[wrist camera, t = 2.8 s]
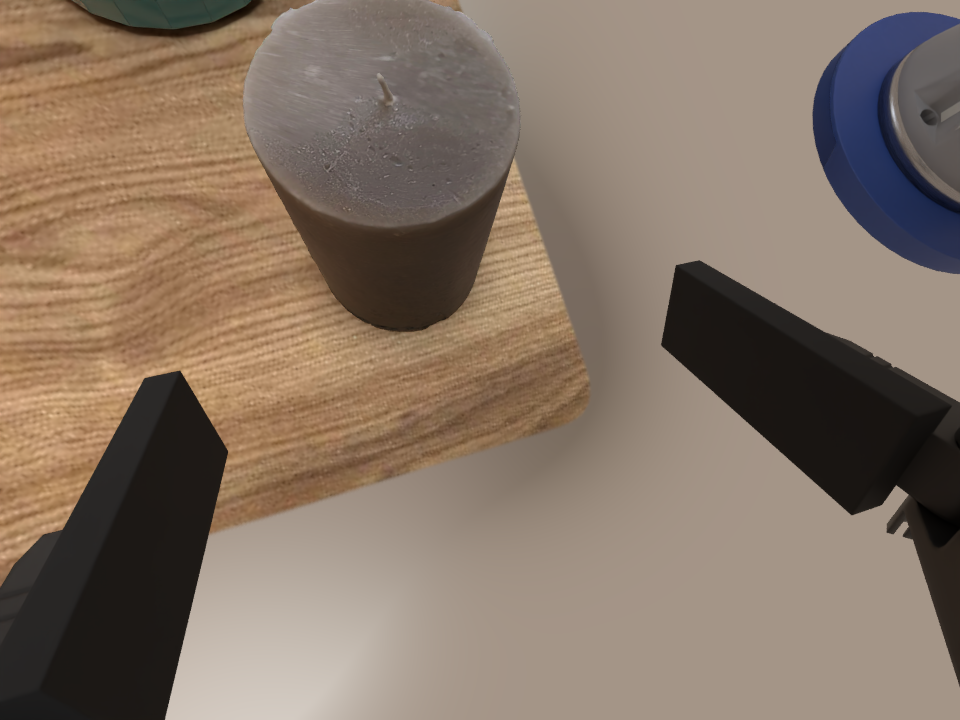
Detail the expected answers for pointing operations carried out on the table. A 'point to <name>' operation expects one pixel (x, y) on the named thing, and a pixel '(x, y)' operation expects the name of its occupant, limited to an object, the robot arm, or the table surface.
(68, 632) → the robot arm
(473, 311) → the table surface
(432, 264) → the pillar candle
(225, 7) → the bowl
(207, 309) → the table surface
